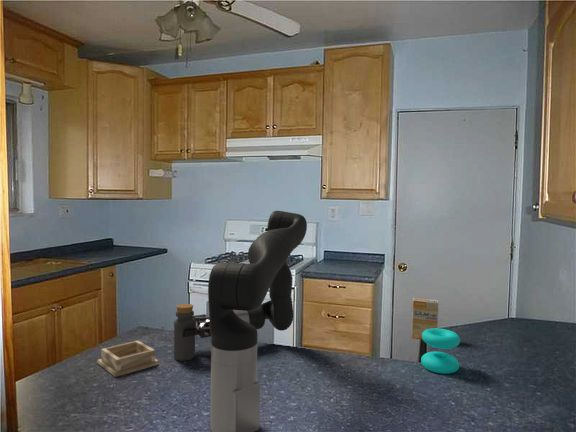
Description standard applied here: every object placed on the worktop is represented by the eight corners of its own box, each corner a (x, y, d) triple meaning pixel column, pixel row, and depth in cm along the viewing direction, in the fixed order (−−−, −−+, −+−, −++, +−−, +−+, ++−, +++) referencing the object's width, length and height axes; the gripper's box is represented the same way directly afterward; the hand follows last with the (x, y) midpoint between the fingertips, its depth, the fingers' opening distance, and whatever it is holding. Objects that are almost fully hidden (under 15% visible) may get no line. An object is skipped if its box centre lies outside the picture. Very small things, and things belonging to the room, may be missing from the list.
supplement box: (411, 339, 140) (412, 300, 139) (411, 334, 144) (412, 297, 144) (437, 341, 137) (438, 302, 137) (436, 337, 142) (437, 299, 141)
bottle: (172, 354, 122) (172, 304, 122) (192, 352, 125) (192, 302, 124) (176, 362, 117) (176, 309, 116) (196, 359, 119) (197, 307, 119)
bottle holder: (158, 364, 115) (158, 350, 115) (115, 377, 107) (115, 361, 107) (139, 352, 124) (139, 339, 124) (97, 363, 115) (97, 348, 115)
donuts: (414, 329, 118) (439, 325, 123) (413, 364, 118) (438, 358, 123) (442, 340, 109) (468, 335, 114) (440, 378, 110) (467, 371, 114)
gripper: (222, 303, 134) (171, 309, 126) (240, 315, 121) (185, 322, 113) (222, 327, 134) (171, 334, 126) (240, 340, 122) (185, 349, 114)
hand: (178, 328), depth 120 cm, fingers open, 8 cm apart
